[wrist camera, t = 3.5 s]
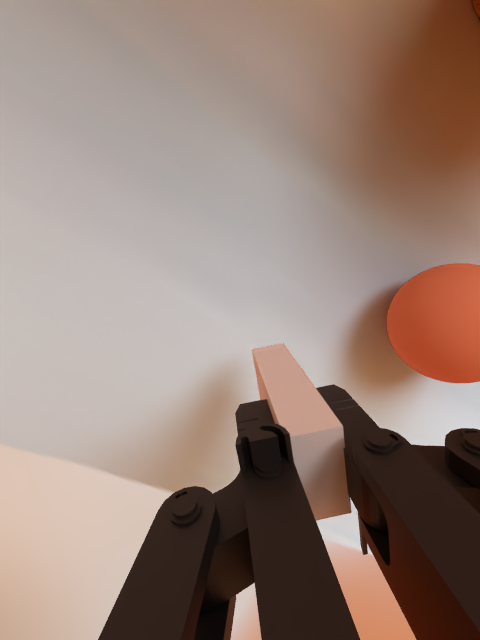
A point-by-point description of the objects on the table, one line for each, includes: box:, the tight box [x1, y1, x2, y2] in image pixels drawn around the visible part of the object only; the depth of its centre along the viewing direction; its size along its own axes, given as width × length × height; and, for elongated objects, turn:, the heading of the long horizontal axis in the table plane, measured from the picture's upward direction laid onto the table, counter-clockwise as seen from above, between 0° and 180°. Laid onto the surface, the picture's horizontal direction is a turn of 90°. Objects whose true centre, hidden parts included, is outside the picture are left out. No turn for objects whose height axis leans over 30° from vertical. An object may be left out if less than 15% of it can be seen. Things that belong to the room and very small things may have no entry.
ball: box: [387, 264, 480, 383], centre depth 15 cm, size 6×6×6 cm
